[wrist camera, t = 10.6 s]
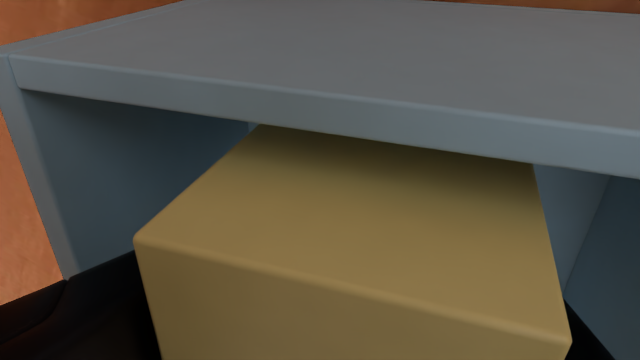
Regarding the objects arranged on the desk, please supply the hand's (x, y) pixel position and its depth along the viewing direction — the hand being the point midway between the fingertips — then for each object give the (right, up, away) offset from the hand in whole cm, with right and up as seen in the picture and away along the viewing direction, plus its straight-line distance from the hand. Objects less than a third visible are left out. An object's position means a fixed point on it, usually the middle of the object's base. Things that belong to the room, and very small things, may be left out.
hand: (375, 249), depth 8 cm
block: (0, 0, +1) cm, 1 cm away
